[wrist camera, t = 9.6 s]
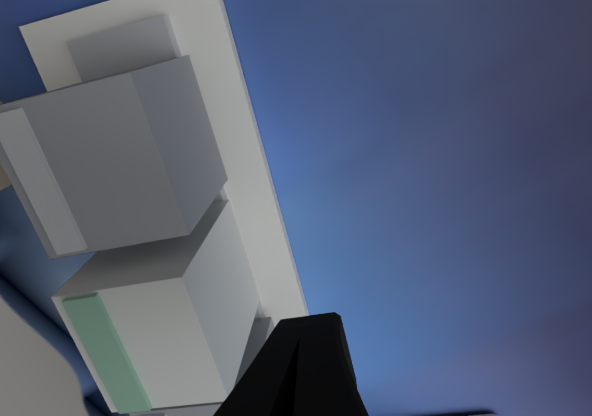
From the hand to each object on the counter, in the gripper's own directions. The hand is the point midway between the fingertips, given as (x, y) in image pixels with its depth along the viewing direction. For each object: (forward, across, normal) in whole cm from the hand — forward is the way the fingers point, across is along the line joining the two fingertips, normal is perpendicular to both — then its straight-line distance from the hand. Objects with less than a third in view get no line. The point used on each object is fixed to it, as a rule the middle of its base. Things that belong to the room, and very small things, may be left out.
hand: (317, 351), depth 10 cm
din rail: (+10, +6, +2) cm, 12 cm away
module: (+9, +6, +2) cm, 11 cm away
